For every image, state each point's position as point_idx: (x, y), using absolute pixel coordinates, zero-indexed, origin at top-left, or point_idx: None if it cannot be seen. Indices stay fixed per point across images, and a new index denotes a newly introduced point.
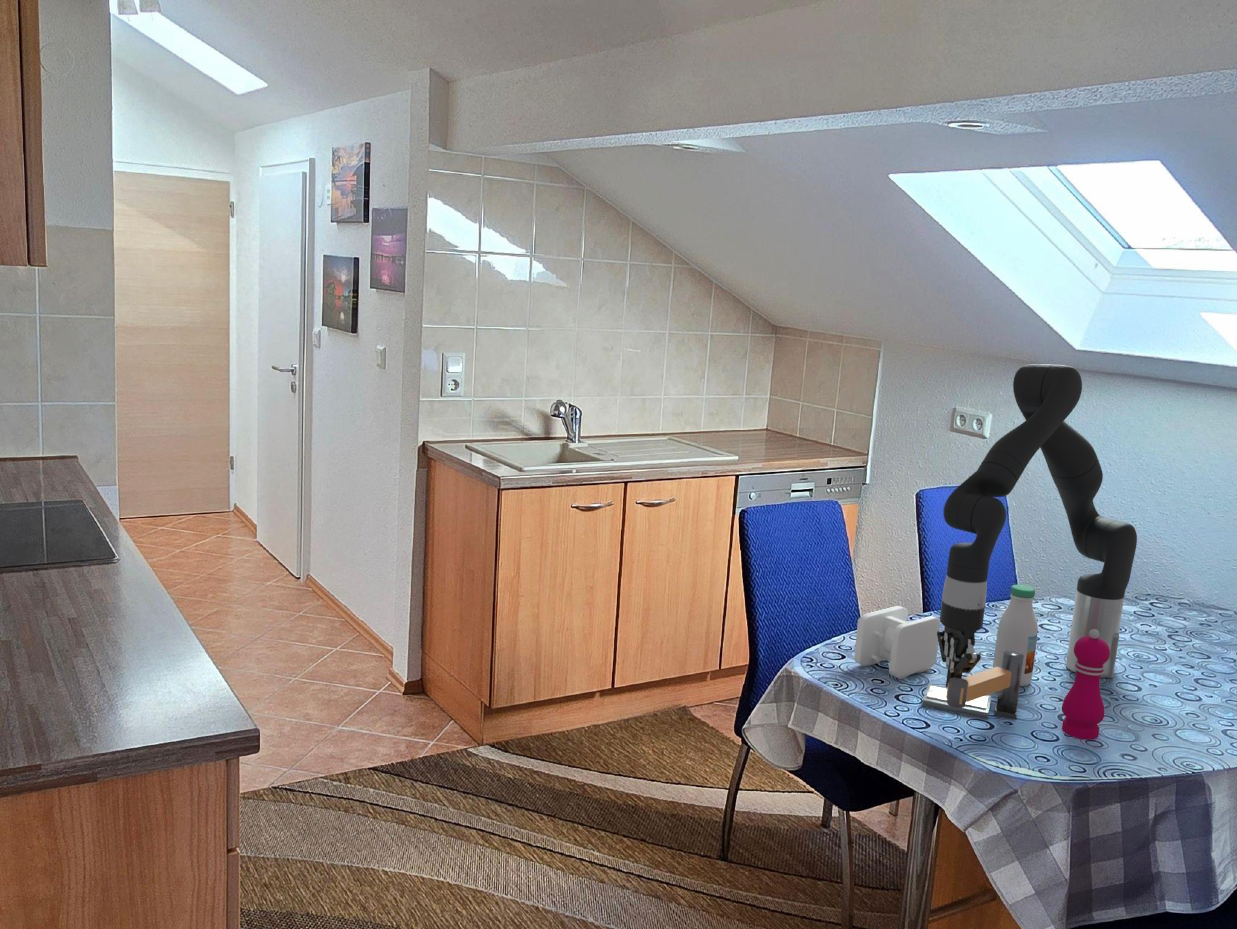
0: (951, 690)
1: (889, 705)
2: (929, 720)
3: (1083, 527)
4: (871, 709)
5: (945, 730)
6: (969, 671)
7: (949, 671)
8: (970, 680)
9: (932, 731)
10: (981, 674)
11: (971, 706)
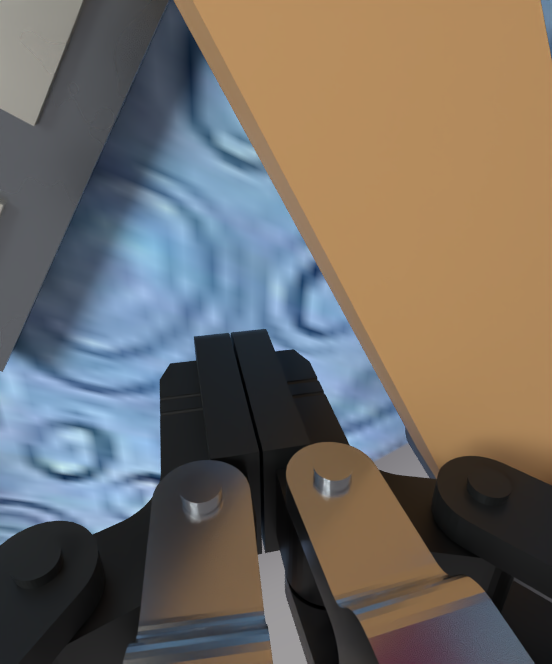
0: None
1: (45, 493)
2: None
3: None
4: None
5: (335, 328)
6: (533, 491)
7: (260, 547)
8: (516, 413)
9: (339, 387)
10: (373, 192)
11: (63, 49)
